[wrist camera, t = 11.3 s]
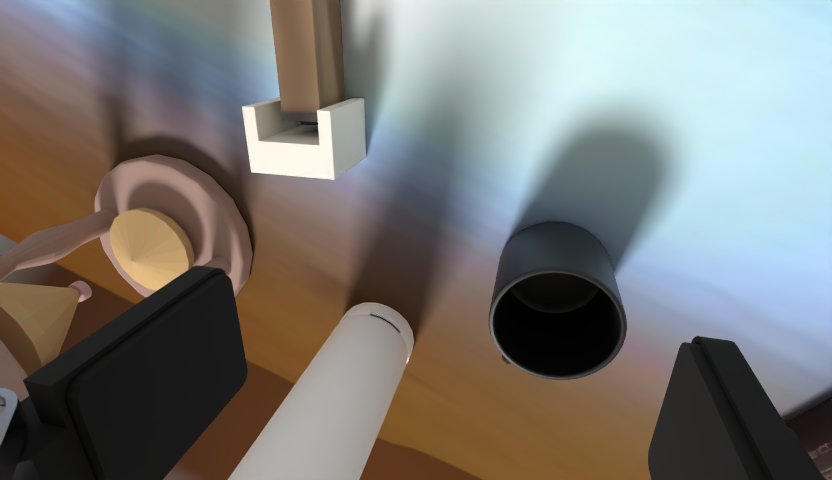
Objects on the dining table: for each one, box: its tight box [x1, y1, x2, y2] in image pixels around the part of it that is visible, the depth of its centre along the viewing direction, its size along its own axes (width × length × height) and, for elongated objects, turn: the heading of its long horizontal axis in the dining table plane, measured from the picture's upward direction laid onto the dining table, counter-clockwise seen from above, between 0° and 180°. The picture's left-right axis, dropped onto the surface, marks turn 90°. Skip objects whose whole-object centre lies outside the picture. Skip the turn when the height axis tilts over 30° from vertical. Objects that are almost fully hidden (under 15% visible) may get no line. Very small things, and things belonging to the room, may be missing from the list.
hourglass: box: [0, 154, 253, 402], centre depth 39 cm, size 18×18×25 cm
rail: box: [270, 0, 345, 122], centre depth 34 cm, size 3×16×5 cm, turn 0°
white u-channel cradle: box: [242, 97, 366, 179], centre depth 34 cm, size 7×24×7 cm, turn 0°
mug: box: [489, 222, 627, 380], centre depth 37 cm, size 9×12×9 cm
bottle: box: [228, 303, 414, 480], centre depth 36 cm, size 8×8×28 cm
